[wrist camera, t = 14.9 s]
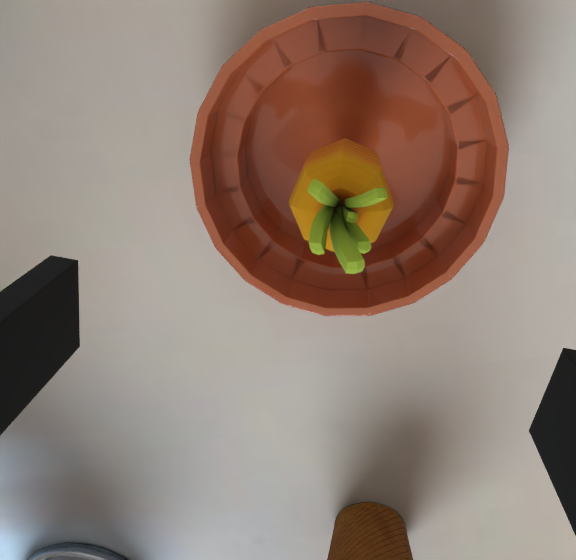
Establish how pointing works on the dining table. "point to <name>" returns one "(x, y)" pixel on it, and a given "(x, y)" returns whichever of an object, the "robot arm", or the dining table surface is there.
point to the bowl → (363, 130)
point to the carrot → (342, 201)
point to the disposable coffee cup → (369, 534)
